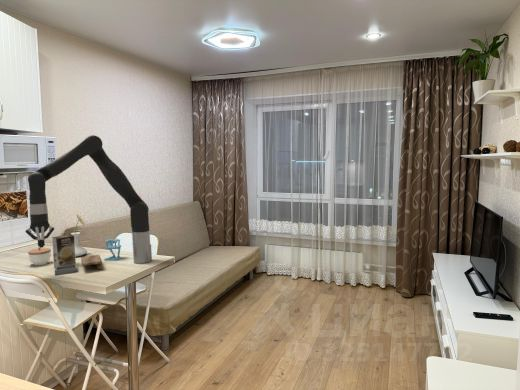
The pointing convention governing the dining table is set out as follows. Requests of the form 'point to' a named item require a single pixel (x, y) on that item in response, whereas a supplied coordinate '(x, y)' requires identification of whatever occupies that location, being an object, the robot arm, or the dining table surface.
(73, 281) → the dining table surface
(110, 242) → the chair
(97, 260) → the light brown rounded block
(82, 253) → the flower in vase
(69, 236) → the coffee box
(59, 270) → the dark grey flat block
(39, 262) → the lidded jar
